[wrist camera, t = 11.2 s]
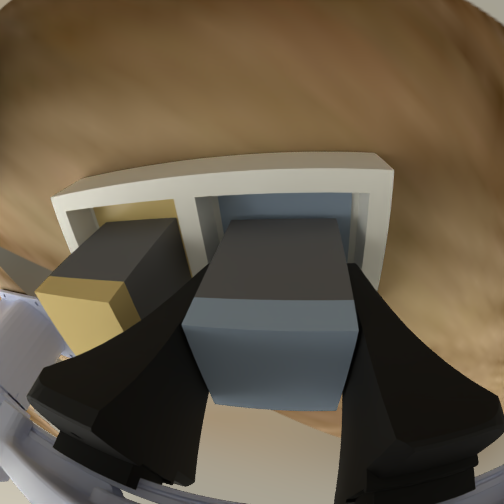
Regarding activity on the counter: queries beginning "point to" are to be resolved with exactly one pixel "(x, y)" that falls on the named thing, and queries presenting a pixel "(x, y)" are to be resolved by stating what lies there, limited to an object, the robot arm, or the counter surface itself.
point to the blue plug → (275, 316)
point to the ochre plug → (114, 280)
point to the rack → (241, 199)
